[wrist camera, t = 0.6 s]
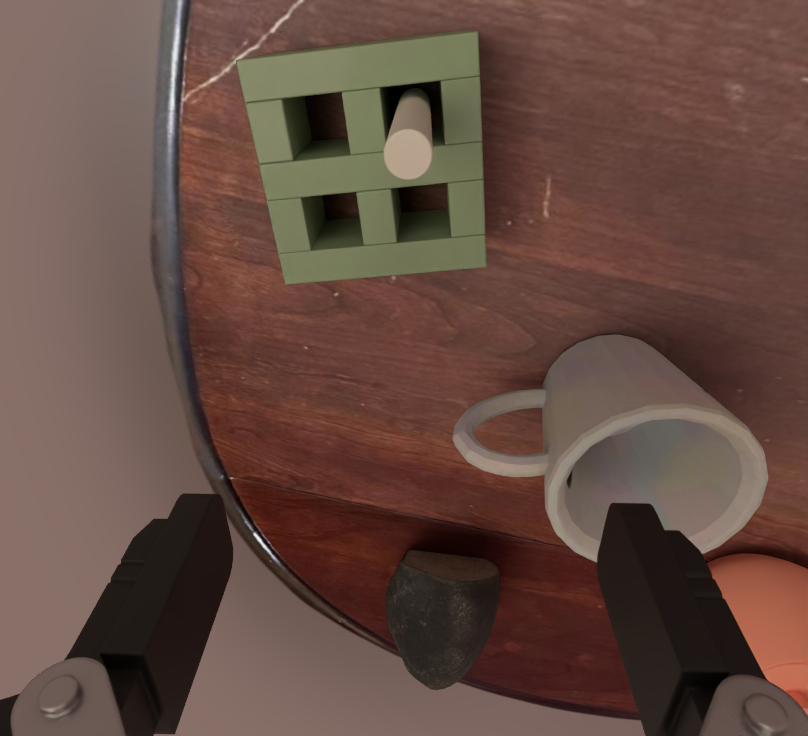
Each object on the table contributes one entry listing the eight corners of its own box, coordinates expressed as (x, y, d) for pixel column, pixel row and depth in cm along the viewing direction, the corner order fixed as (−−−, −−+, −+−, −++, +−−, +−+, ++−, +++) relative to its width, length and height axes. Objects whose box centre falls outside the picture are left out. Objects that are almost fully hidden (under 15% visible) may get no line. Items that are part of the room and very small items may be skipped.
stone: (475, 548, 48) (535, 585, 38) (467, 645, 47) (525, 707, 37) (379, 544, 46) (416, 581, 36) (368, 645, 45) (404, 710, 35)
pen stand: (264, 53, 28) (234, 60, 24) (470, 29, 27) (478, 31, 23) (303, 250, 33) (284, 285, 29) (478, 234, 32) (487, 267, 28)
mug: (661, 457, 40) (725, 578, 31) (440, 440, 40) (444, 558, 31) (713, 317, 34) (808, 417, 26) (458, 298, 34) (468, 391, 26)
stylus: (398, 87, 29) (380, 131, 17) (428, 83, 29) (430, 126, 17) (401, 120, 29) (386, 183, 18) (431, 117, 29) (434, 178, 18)
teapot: (781, 662, 51) (850, 786, 42) (586, 620, 49) (619, 742, 40) (876, 569, 44) (977, 693, 36) (657, 517, 42) (712, 636, 34)
